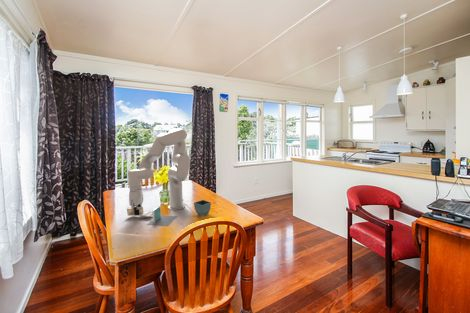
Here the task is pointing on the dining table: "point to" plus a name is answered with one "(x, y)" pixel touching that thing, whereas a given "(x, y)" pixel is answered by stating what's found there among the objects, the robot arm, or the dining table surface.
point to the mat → (163, 221)
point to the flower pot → (202, 207)
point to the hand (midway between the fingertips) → (138, 213)
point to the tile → (156, 214)
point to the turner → (141, 214)
